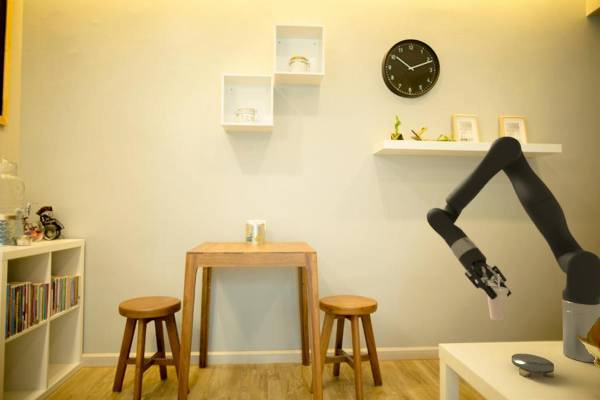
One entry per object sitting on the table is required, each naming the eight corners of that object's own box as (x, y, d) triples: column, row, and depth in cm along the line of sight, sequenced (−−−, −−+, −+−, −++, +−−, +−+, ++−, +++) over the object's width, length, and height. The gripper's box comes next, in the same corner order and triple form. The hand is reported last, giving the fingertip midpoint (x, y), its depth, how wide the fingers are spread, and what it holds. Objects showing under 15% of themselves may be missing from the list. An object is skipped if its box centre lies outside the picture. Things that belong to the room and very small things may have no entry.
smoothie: (512, 322, 107) (511, 276, 107) (489, 321, 108) (488, 275, 108) (504, 316, 113) (504, 272, 113) (482, 315, 114) (482, 271, 115)
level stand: (512, 361, 106) (512, 350, 106) (553, 369, 101) (553, 358, 101) (511, 374, 98) (511, 363, 98) (555, 384, 92) (555, 372, 93)
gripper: (460, 247, 114) (495, 292, 104) (488, 245, 121) (524, 287, 110) (446, 262, 119) (479, 306, 108) (475, 259, 126) (508, 300, 115)
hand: (501, 296), depth 109 cm, fingers closed on smoothie, 6 cm apart
